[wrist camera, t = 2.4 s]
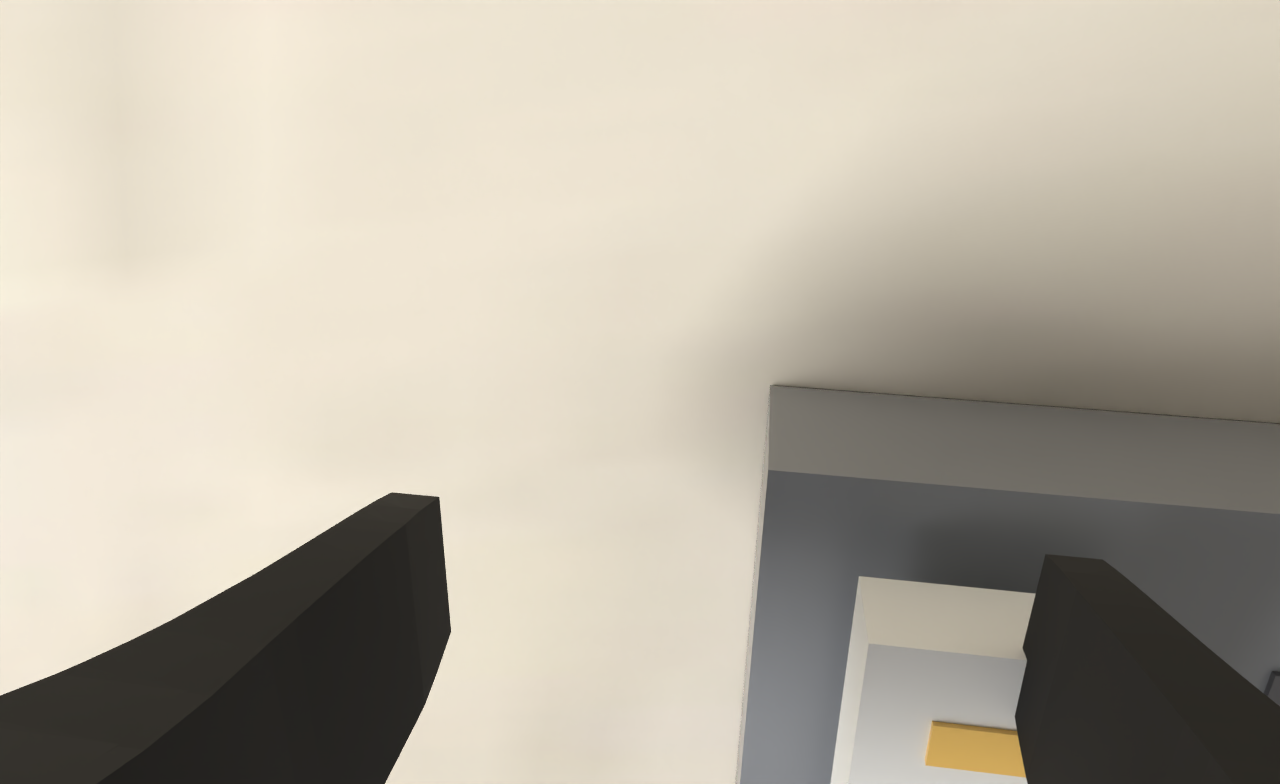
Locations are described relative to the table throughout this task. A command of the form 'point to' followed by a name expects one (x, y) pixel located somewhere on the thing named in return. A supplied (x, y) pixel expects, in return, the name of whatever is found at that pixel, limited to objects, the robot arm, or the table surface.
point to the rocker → (932, 685)
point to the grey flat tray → (990, 534)
